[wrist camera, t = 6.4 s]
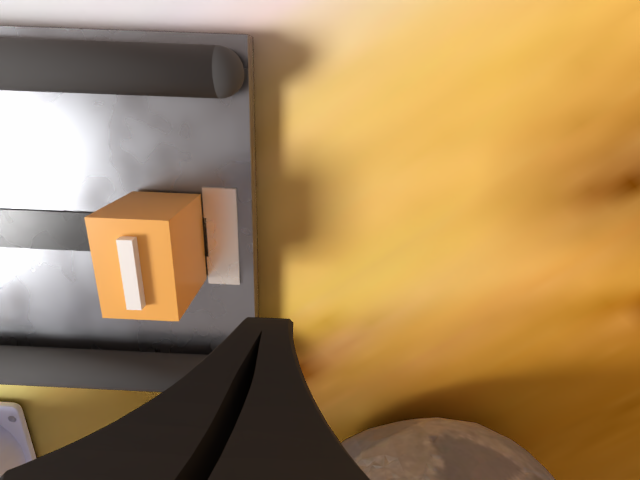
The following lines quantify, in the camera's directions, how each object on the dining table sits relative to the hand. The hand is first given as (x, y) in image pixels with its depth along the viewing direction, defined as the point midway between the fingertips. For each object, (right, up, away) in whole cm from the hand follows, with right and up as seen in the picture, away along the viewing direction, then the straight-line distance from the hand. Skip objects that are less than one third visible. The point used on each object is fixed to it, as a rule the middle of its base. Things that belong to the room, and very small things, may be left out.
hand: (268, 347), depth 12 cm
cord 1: (-10, -4, +11) cm, 15 cm away
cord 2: (-10, +10, +6) cm, 15 cm away
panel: (-10, +4, +10) cm, 14 cm away
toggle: (-6, +3, +8) cm, 11 cm away
